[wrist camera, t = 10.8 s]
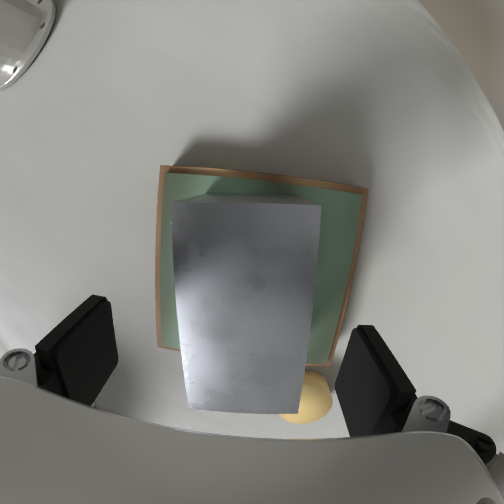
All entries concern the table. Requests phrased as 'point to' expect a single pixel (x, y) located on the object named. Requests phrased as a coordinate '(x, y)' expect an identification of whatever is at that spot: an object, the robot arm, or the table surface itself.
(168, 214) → the green board with frame
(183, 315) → the block
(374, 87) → the table surface
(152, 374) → the table surface
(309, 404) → the cream dome
